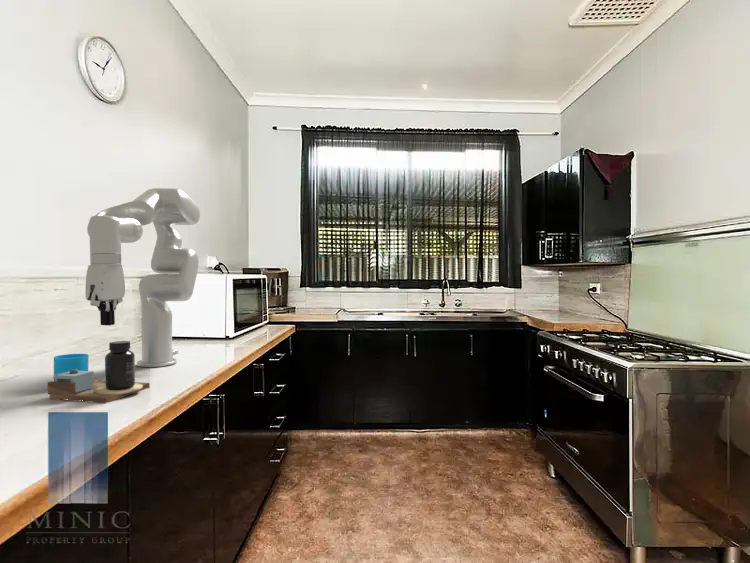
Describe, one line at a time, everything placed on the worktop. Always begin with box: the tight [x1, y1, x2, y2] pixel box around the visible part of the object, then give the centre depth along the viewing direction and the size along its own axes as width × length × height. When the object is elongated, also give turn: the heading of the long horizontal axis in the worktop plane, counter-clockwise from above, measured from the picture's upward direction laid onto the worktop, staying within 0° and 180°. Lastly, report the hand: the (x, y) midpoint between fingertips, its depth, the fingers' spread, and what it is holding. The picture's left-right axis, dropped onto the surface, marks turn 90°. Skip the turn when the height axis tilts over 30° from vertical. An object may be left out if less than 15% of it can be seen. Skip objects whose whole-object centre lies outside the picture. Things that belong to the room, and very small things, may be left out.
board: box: [47, 379, 151, 404], centre depth 119 cm, size 16×19×4 cm
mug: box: [53, 353, 89, 376], centre depth 129 cm, size 12×8×8 cm
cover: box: [53, 369, 94, 393], centre depth 116 cm, size 6×6×5 cm
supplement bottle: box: [104, 340, 136, 390], centre depth 118 cm, size 7×7×12 cm
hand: (107, 324), depth 128 cm, fingers closed
